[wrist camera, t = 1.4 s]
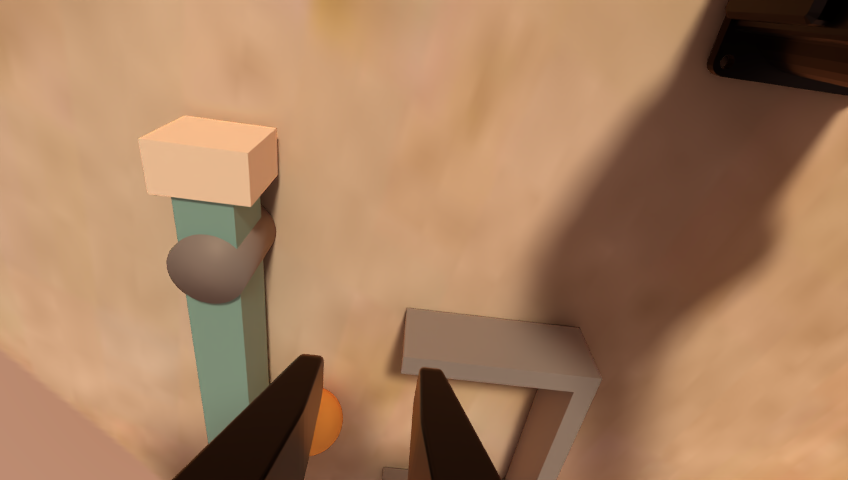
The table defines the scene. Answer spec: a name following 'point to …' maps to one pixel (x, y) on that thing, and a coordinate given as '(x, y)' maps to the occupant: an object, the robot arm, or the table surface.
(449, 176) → the table surface
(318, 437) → the ball
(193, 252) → the lever
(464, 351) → the pocket
